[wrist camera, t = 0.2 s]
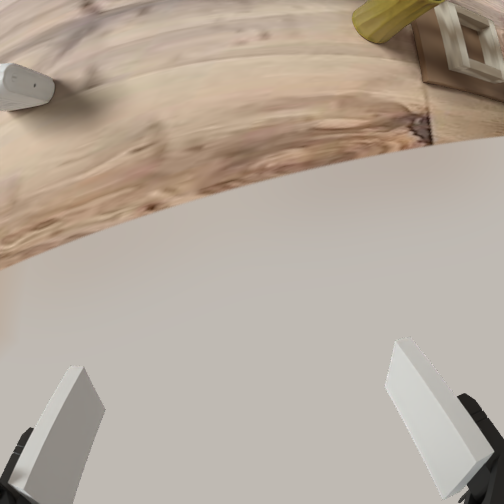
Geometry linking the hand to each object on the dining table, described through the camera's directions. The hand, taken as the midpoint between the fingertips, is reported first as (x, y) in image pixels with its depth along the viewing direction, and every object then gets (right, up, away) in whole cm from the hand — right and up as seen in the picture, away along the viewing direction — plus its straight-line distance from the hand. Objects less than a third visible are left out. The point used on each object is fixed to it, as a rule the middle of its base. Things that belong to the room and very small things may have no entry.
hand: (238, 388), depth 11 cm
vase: (+17, +36, +19) cm, 44 cm away
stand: (+34, +38, +19) cm, 54 cm away
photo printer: (-31, +27, +18) cm, 45 cm away
